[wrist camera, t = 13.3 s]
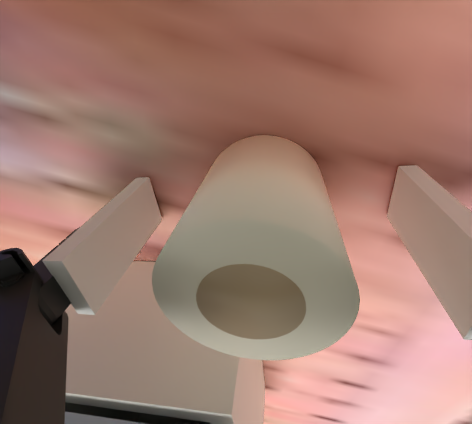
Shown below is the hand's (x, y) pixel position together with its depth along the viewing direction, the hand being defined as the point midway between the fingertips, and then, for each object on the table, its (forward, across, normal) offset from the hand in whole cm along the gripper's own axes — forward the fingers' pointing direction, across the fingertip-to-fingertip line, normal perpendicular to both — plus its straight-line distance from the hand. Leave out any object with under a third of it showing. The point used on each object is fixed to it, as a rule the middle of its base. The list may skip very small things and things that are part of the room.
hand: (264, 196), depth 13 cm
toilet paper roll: (0, 0, 0) cm, 0 cm away
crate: (0, -7, -13) cm, 15 cm away
